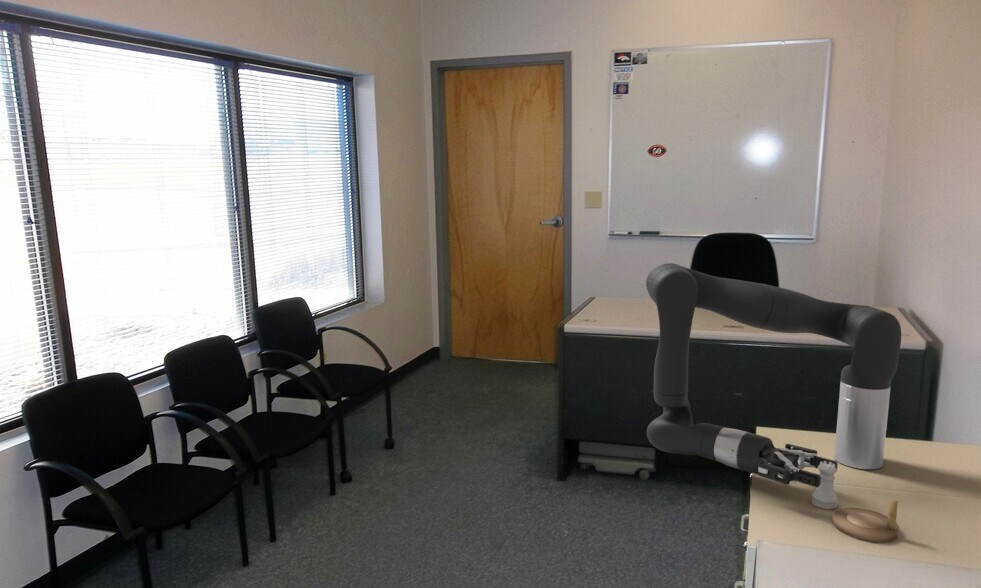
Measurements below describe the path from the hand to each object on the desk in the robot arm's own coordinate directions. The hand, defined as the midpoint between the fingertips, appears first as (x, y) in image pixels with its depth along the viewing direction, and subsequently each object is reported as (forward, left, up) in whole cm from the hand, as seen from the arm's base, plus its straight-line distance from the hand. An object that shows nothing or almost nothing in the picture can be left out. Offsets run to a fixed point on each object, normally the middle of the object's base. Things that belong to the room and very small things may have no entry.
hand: (828, 474), depth 127 cm
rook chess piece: (0, 0, -6) cm, 6 cm away
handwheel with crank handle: (+4, +8, -6) cm, 11 cm away
